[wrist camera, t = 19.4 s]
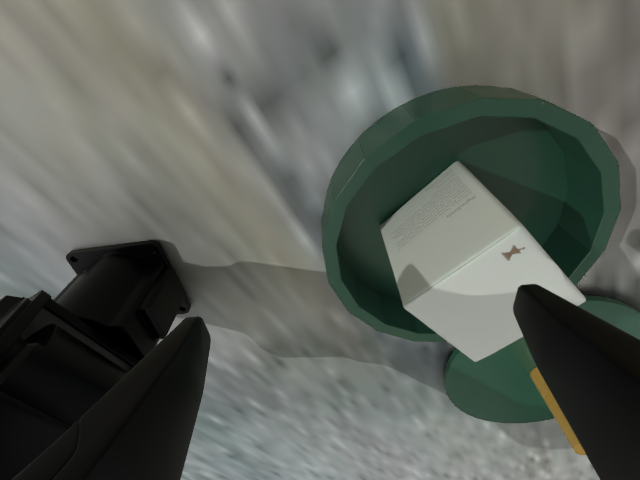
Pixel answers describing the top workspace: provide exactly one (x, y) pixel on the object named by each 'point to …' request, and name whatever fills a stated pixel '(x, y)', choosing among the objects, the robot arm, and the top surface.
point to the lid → (522, 376)
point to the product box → (467, 263)
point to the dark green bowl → (488, 167)
